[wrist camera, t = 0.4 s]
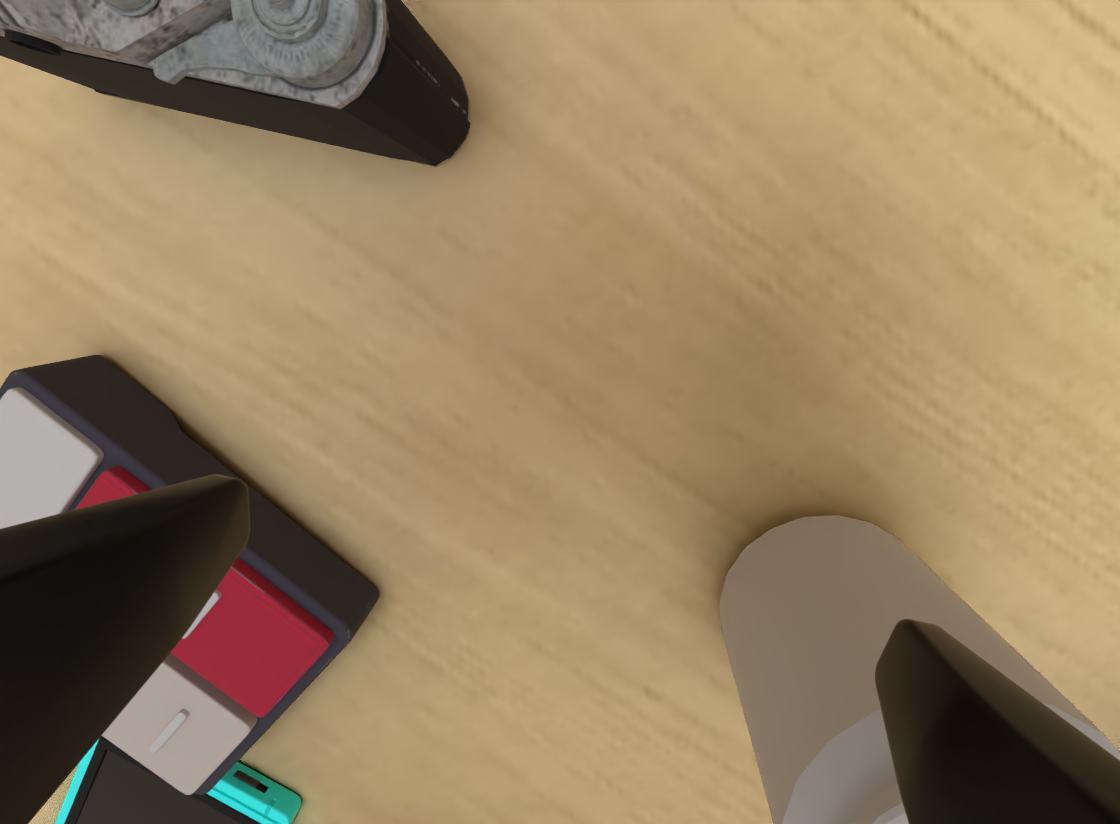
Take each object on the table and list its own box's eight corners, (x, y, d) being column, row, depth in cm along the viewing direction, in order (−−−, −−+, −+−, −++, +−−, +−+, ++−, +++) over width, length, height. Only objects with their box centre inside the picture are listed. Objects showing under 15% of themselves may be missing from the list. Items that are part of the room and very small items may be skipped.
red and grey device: (188, 818, 24) (-142, 583, 22) (250, 734, 28) (-24, 531, 26) (348, 648, 21) (-11, 368, 20) (390, 584, 25) (97, 348, 24)
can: (935, 512, 22) (1293, 783, 10) (902, 692, 23) (1176, 1104, 12) (724, 498, 22) (830, 734, 11) (707, 673, 24) (782, 1042, 12)
